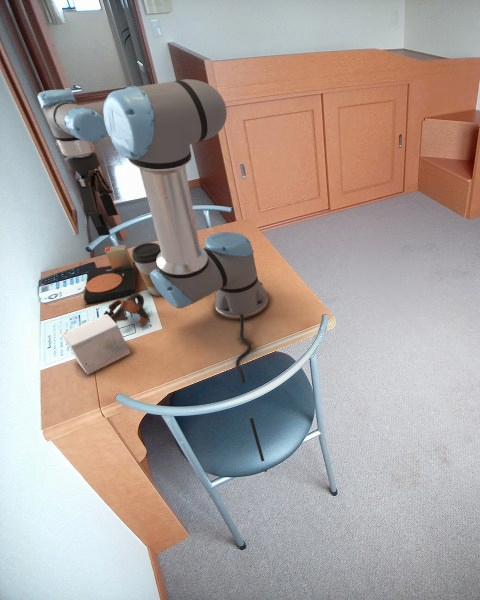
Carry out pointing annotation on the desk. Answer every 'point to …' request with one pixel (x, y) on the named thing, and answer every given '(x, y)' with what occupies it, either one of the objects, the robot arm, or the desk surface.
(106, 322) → the cosmetics box
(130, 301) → the pottery mug
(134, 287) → the hotplate
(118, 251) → the cream block
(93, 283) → the warming ring
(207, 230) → the desk surface
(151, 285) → the coffee cup
